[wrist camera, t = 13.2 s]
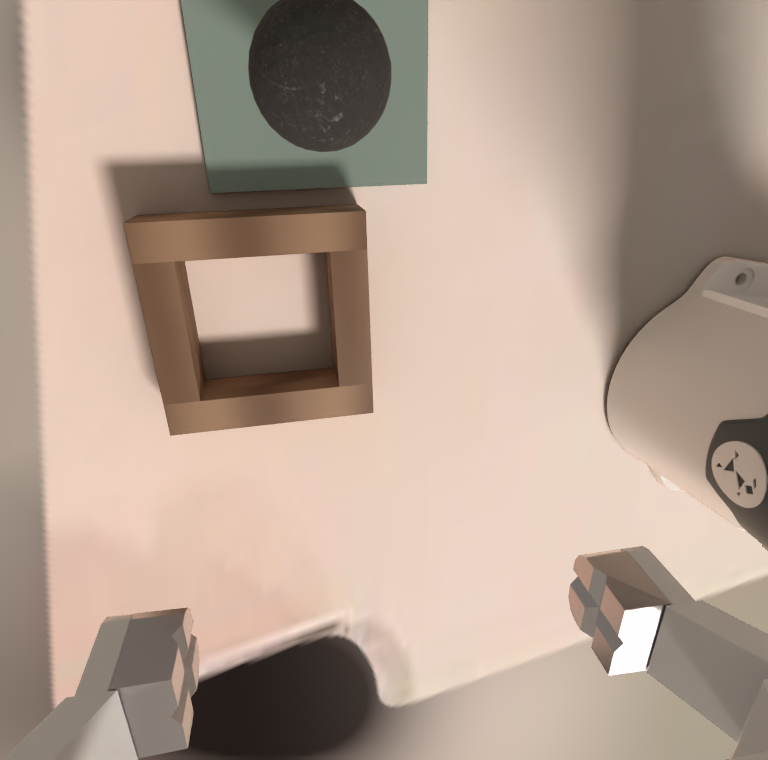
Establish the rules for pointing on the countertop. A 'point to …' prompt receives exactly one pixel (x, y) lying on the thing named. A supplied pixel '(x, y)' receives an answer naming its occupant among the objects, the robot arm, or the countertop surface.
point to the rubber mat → (263, 144)
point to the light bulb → (319, 72)
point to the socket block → (249, 239)
